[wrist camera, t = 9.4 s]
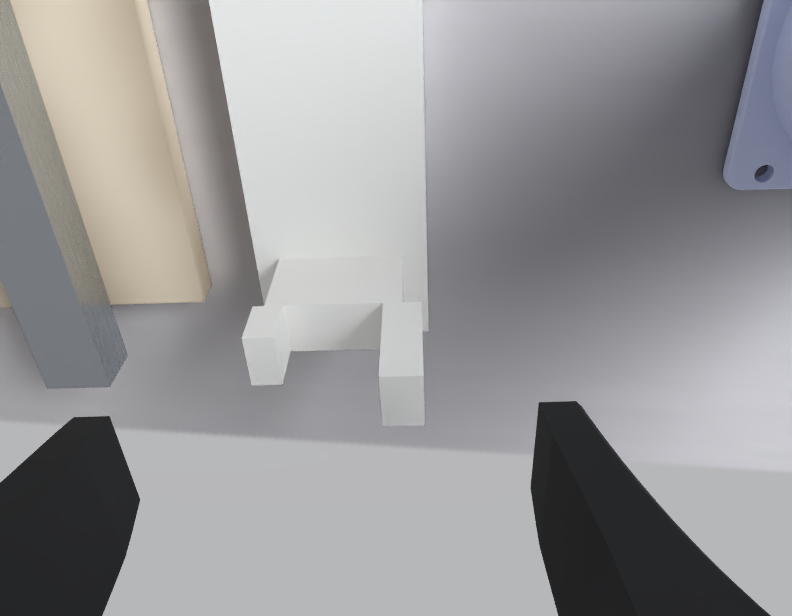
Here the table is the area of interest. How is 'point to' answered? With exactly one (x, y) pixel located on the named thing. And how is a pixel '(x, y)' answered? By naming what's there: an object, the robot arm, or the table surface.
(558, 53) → the table surface
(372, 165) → the bracket stand
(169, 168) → the beech board
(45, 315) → the steel rail
